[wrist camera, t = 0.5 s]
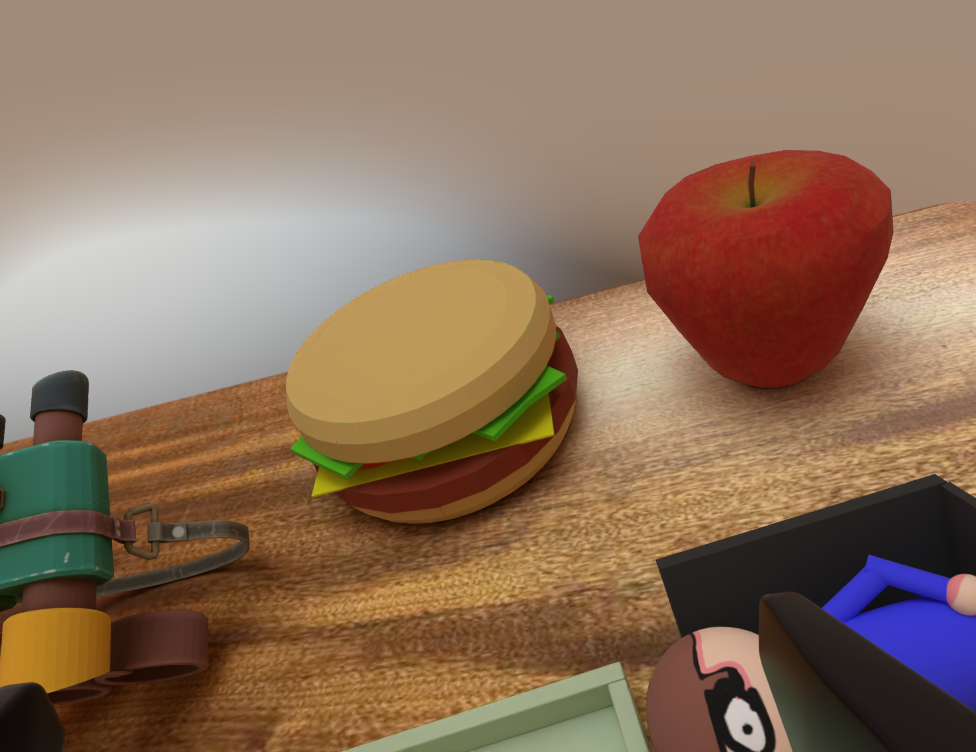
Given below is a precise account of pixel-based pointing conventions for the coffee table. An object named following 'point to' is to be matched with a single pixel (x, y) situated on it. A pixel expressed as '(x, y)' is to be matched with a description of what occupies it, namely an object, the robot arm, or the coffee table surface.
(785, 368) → the apple
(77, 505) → the binoculars
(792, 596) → the robot arm
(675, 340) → the coffee table surface
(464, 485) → the hamburger
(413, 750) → the tray
